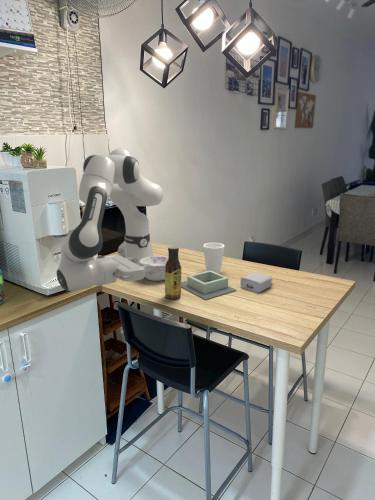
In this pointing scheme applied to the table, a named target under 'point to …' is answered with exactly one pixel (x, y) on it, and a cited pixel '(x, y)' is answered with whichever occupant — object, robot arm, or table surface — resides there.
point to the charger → (256, 282)
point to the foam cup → (213, 256)
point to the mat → (207, 295)
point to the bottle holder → (214, 284)
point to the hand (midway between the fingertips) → (143, 263)
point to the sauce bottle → (173, 274)
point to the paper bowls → (155, 267)
